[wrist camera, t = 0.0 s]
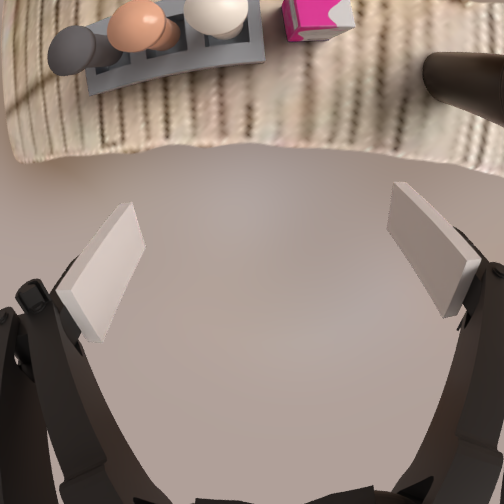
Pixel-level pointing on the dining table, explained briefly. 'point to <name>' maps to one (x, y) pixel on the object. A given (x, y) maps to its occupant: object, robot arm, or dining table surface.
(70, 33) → the black plug
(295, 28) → the supplement box
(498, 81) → the water bottle
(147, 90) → the dining table surface
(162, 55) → the socket block
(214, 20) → the cream plug
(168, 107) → the dining table surface
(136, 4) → the terracotta plug
